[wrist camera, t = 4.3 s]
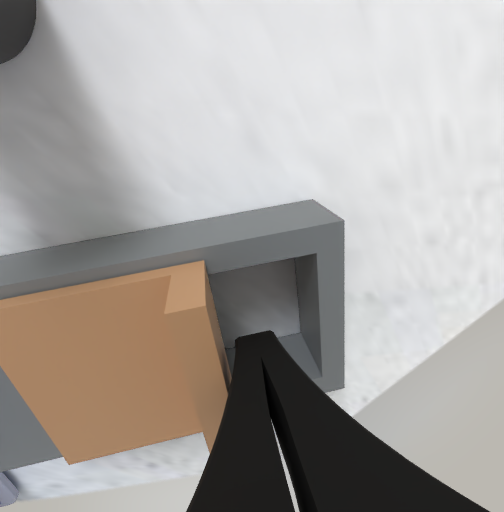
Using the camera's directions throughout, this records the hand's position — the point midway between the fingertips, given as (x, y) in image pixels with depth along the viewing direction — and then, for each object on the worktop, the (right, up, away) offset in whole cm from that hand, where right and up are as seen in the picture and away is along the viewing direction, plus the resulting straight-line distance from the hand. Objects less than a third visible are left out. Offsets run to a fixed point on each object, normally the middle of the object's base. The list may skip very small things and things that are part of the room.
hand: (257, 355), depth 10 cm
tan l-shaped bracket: (-5, 0, 0) cm, 5 cm away
